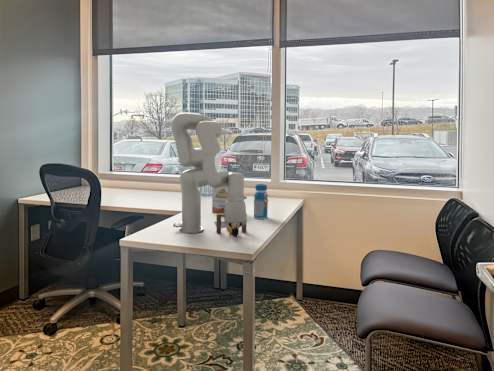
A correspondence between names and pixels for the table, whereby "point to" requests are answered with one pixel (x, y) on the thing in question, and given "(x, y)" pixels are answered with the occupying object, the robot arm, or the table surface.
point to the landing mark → (221, 224)
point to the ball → (230, 228)
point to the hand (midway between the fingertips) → (235, 236)
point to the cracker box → (219, 199)
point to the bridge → (218, 228)
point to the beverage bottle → (260, 202)
